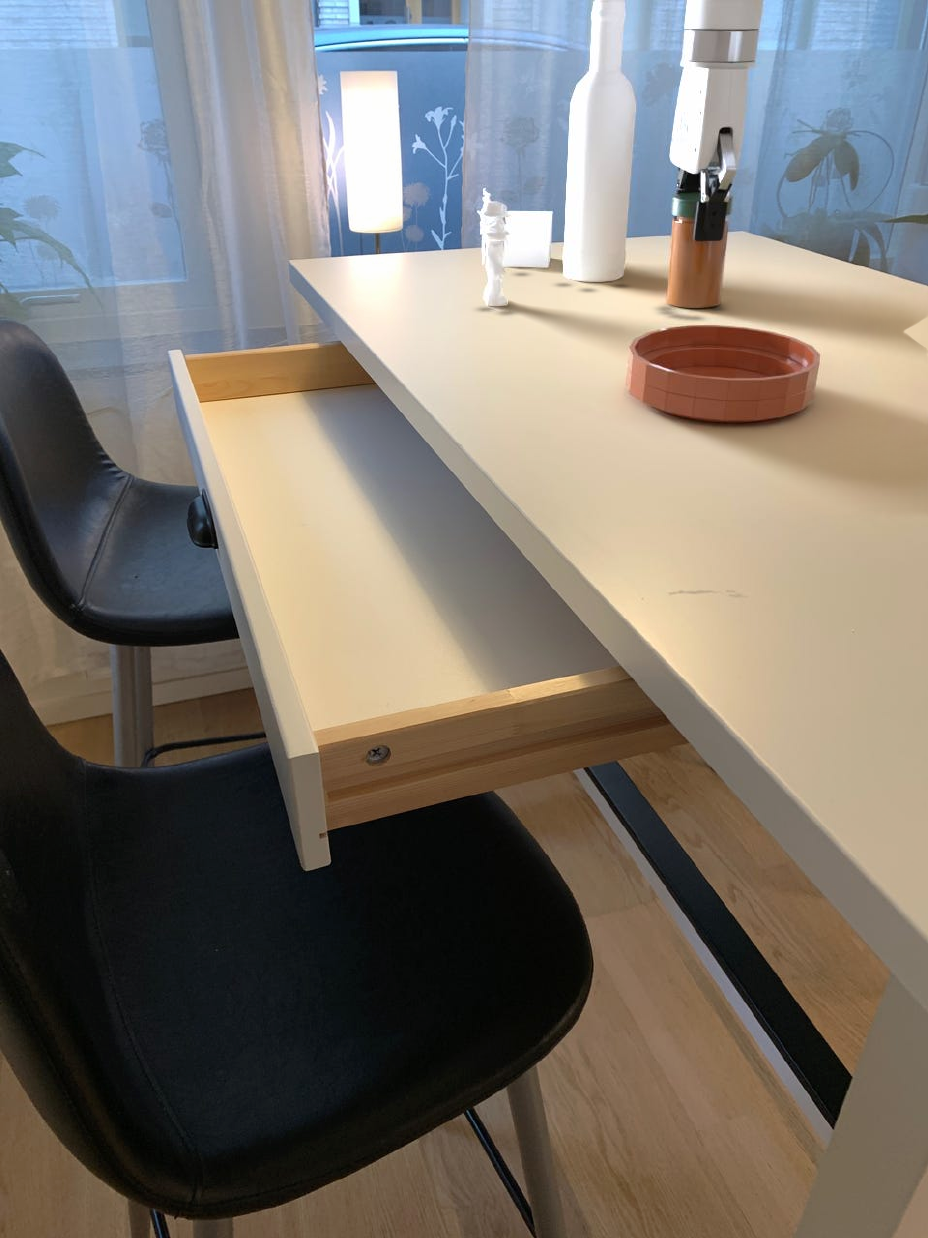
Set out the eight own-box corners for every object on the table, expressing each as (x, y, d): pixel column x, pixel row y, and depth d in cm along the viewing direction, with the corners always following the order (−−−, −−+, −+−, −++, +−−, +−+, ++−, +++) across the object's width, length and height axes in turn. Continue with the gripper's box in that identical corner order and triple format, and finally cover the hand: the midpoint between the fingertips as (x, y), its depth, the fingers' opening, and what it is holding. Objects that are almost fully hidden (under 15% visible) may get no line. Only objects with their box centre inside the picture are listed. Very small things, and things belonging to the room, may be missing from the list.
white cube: (503, 266, 131) (503, 218, 128) (507, 257, 136) (507, 210, 133) (548, 267, 130) (550, 219, 127) (550, 257, 135) (552, 211, 132)
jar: (712, 294, 117) (721, 198, 112) (727, 306, 112) (737, 206, 106) (660, 296, 117) (667, 201, 112) (673, 309, 112) (681, 209, 106)
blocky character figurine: (475, 292, 119) (475, 185, 113) (508, 291, 119) (509, 184, 113) (479, 312, 112) (479, 198, 105) (514, 311, 112) (516, 198, 105)
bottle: (550, 277, 126) (561, -1, 110) (580, 265, 131) (594, -1, 115) (606, 285, 122) (625, -1, 106) (634, 273, 127) (657, -1, 111)
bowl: (782, 366, 94) (789, 324, 92) (836, 427, 80) (846, 379, 78) (615, 367, 94) (618, 325, 92) (640, 428, 81) (645, 380, 78)
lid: (743, 214, 108) (745, 197, 107) (690, 219, 106) (691, 201, 105) (711, 207, 113) (712, 190, 112) (660, 212, 111) (661, 194, 110)
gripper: (659, 46, 108) (643, 219, 118) (711, 54, 93) (688, 251, 103) (725, 46, 109) (704, 218, 118) (787, 54, 94) (757, 249, 104)
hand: (697, 231), depth 111 cm, fingers closed on lid, 6 cm apart
